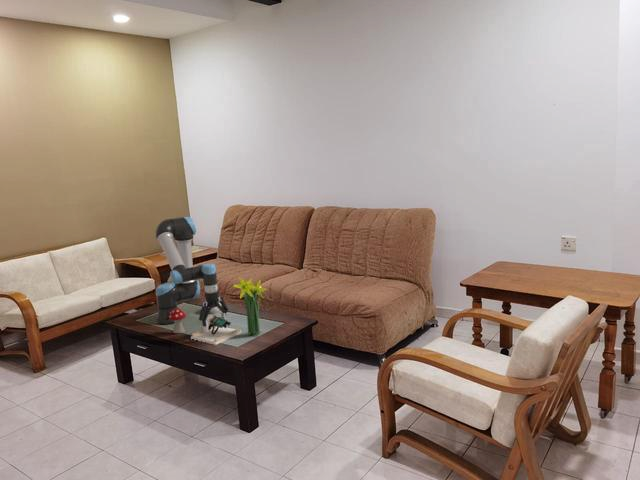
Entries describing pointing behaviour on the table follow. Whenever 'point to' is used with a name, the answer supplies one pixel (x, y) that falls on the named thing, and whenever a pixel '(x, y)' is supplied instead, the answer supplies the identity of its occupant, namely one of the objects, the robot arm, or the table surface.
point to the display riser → (215, 335)
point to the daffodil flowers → (249, 289)
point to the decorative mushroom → (177, 320)
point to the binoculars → (217, 323)
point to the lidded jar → (214, 309)
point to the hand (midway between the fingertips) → (215, 327)
